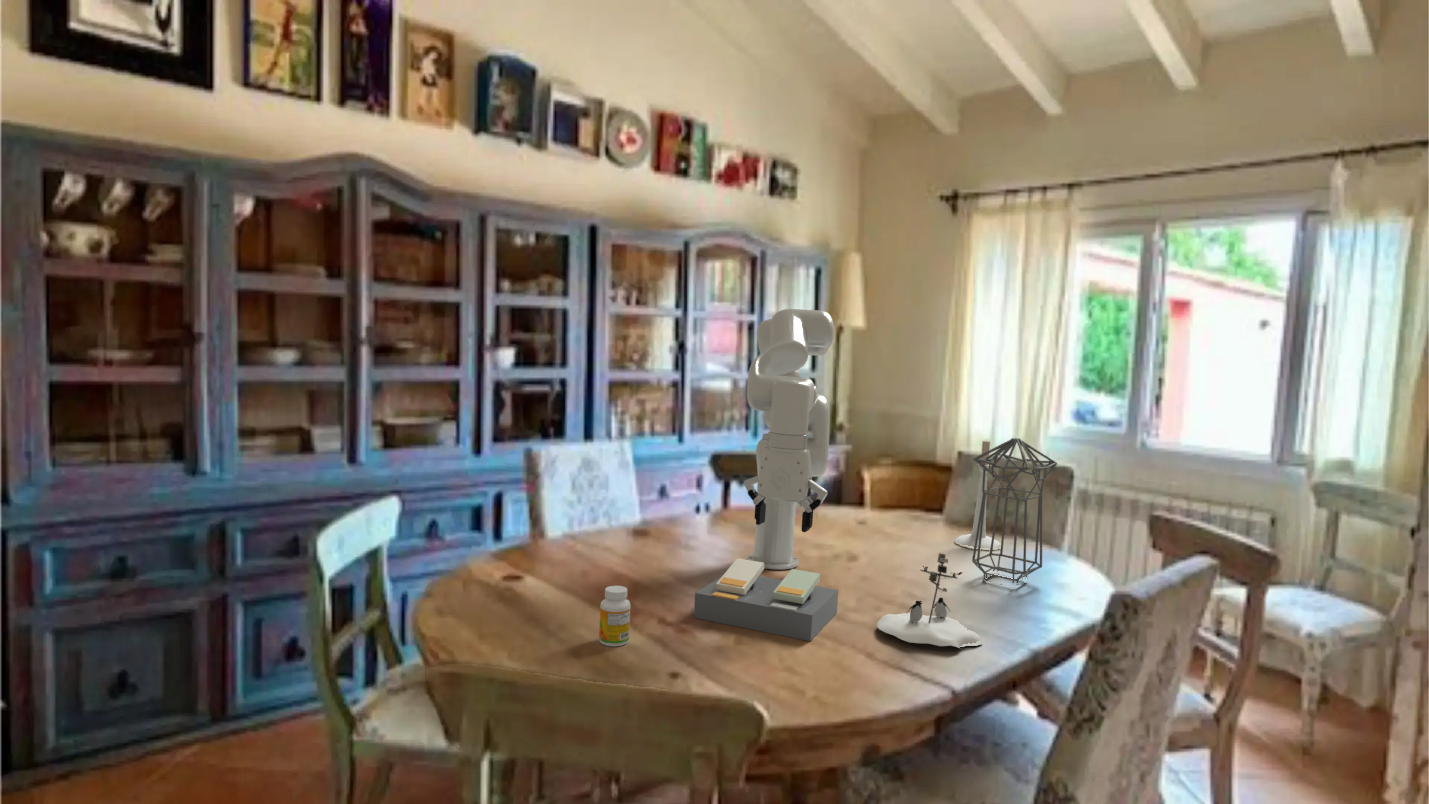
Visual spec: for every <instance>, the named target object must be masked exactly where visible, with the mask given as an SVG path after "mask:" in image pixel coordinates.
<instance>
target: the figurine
mask: <svg viewBox="0 0 1429 804" xmlns="http://www.w3.org/2000/svg"><path fill="white" fill-rule="evenodd" d="M946 556H947V555H946V553H943V552H939V553H938V557H937V563H938V565H937V569H936V570H937V572H936V571H929V570H928V569H929V567H928V566H924V565H923V566H922V568H923V569H919V570H920V572H923V573H928V574H929V577H928V580H929V582H930V583H932V584H934V585H935V590H934V591H935V592H934V596H933V599H932V605H931V610H930V614H929V615H924V614H923V608H922V607H923V606H922V604H923V601H922V600H915V603H914V604H913V605H912V606H911V605H910V607H909V609H908V610H907V611H906V612H903V613H898V614H891V613H887V614H885V615H883V616H882V617H880V619H879V620H878V622H877V624H876V625H877V628H878V630H879V631H882V632H883V633H885V634H889V635H892V636H894V637H896V638H898V639H900V641H901V640H902V641H904V642H907V643H910V644H911V643H914V644H928V645H929V644H930V645H934V646H938V647H948V646H949V647H950V646H951V647H956V648H958V649H961V648H960V646H962V645H963V644H968V643H970V644H972V643H976V642H977V641H980V640H981V637H980V635H979V634H977V633H976V632H975V631H972V630H970V629H969V630H967V627H966V626H965V625H963V624H961V622H959V621H958V620H956V619H953V618H951V617H949V616H948V615H947V613H948V612H947V609H948V611H949V612H951V610H950V608H949V607H948V606H947V604H946V603H945V601H944V598H943V597H939V598H938V600H937V601H936V598H937V593H938V590H939V591H941V592H942V593H943V592H945V593H946V592H948V590H947V588H946V587H943V588H941V587H940V585H941V583H940V582H941V579H942V580H944V578H947V580H949V579H957V580H958V577H957V576H960V575H962V574H963V572H962V571H960V572H957V573H956V572H954V573H953V572H950V574H951V575H949V574H948V572H947V570H948V569H947V568H948V567H947V566H946V565H945V564H948V562H949V559H948V558H946ZM941 577H943V578H941ZM935 601H936V602H935ZM933 610H934V614H935V615H933ZM909 611H910V612H909ZM964 626H965V627H966V628H965V627H964Z"/></svg>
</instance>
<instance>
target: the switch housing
mask: <svg viewBox="0 0 1429 804" xmlns="http://www.w3.org/2000/svg"><path fill="white" fill-rule="evenodd" d="M722 576H723V575H721V576H719V577H718V578H717V579H715V580H713V581H711V583H709V584H707V585H706V586H704V587H702V588H701V589H699V590H697V591H696V592H695V593H694V606H693V607H694V608H693V609H694V610H693V618H694V619H698V620H704V621H708V622H713V623H718V624H723V625H728V626H733V627H737V628H743V629H747V630H752V631H753V630H754V631H758V632H762V633H768V634H774V635H778V636H783V637H788V638H793V639H797V640H802V641H808V642H812V641H813V639H815V637H816V636H817V635H818V634H819V633H820V632H821V631H822V630H823V629H824V628H825V627H826V626H827V625H828V623H830V621H831V620H832V619H833V618H835V616H836V615H837V613H838V603H839V602H838V601H839V600H838V599H839V589H836V588H832V587H824V586H819V585H816V586H815V588H814V589H813V591H812V592H811V594H810V595H809V596H808V598H807V599H806V601H805V602H804V603H803V604H800V603H794V602H789V601H784V600H778V599H773V592H774V591H775V589H776V588H777V587H778V586H779V584H780V583H781V582H782V581H783V579H779V578H774V577H767V576H763V575H759V576H758V578H757V579H756V580H755V582H754V583H753V584H752V586H751V587H750V589H749V590H748V591H747V593H746V594H745V595H742V594H736V593H731V592H725V591H720V590H717V588H716V583H717V582H718V581H719V580H720V579H721V577H722ZM834 615H835V616H834ZM829 620H830V621H829ZM826 624H827V625H826ZM825 625H826V626H825ZM824 626H825V627H824ZM823 627H824V628H823ZM822 628H823V629H822ZM821 629H822V630H821Z"/></svg>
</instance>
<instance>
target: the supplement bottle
mask: <svg viewBox="0 0 1429 804" xmlns="http://www.w3.org/2000/svg"><path fill="white" fill-rule="evenodd" d="M627 598H628V588H627V587H626V586H622V585H610V586H607V587H605V588H604V599H603V600H602V601H600V607H599V610H600V611H599V630H598V631H599V633H598V641H599V643H600V644H602V645H603V646H606V647H613V648H614V647H621V646H625V645H627V644H628V643H629V642H630V626H631V602H630V600H629V599H627Z"/></svg>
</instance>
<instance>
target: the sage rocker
mask: <svg viewBox="0 0 1429 804" xmlns="http://www.w3.org/2000/svg"><path fill="white" fill-rule="evenodd" d="M789 570H790V571H788V573H786V575H785V577H784V578H783V579H782V580H783V581H782V582H781V583H780V584H779V586H778V587H777V588H776V589H775V591H774V592H773V599H778V600H784V601H789V602H794V603H800V604H803V603H804V602H805V601H806V599H807V598H808V596H809V595H810V594H811V592H812V591H813V589H814V588H815V586H818V583H819V582H820V581H821V573H818V572H812V571H807V570H802V569H795V568H791V569H789Z"/></svg>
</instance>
